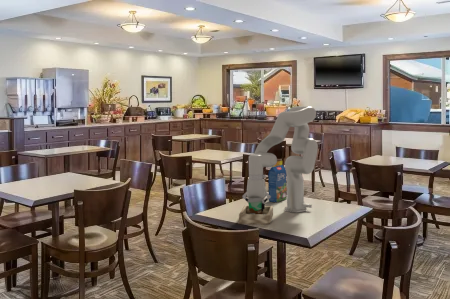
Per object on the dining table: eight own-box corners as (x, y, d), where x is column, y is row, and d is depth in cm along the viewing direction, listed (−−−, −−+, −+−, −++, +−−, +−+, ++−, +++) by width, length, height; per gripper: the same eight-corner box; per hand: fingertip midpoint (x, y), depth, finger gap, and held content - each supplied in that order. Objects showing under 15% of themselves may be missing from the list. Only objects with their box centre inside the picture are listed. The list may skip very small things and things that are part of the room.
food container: (259, 217, 227) (258, 199, 226) (248, 217, 230) (247, 198, 229) (268, 212, 238) (267, 194, 237) (258, 211, 241) (257, 193, 240)
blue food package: (268, 201, 276) (267, 162, 273) (278, 198, 285) (278, 160, 282) (276, 202, 272) (276, 163, 269) (286, 199, 281) (286, 160, 278)
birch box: (273, 214, 242) (272, 206, 242) (269, 224, 223) (269, 215, 222) (244, 214, 245) (244, 205, 245) (239, 223, 226) (239, 214, 225)
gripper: (272, 176, 234) (273, 209, 236) (241, 176, 237) (242, 208, 239) (271, 178, 226) (272, 212, 228) (239, 178, 230) (239, 211, 232)
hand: (256, 210), depth 234 cm, fingers closed on food container, 5 cm apart
